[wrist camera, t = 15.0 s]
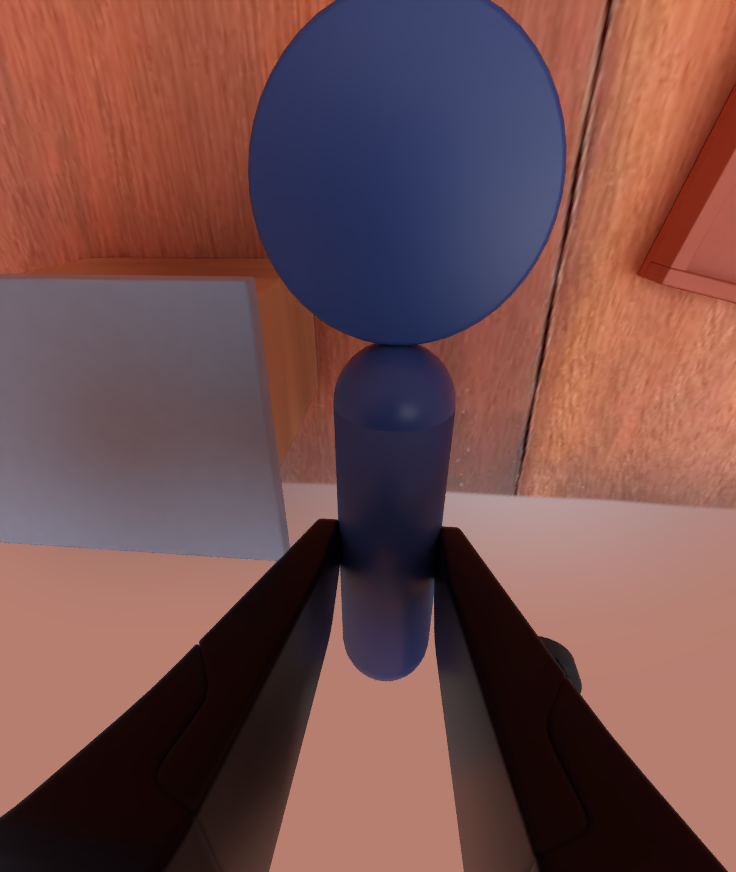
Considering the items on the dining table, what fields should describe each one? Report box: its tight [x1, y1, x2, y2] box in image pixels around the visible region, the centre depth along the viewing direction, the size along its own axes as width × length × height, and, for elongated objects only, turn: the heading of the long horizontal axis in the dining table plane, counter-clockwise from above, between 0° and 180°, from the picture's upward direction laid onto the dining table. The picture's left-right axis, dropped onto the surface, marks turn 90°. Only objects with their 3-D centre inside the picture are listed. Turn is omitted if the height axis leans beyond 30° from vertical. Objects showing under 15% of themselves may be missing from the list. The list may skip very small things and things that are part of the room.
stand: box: [19, 258, 318, 467], centre depth 16 cm, size 10×6×10 cm, turn 90°
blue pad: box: [0, 274, 290, 561], centre depth 12 cm, size 12×8×1 cm, turn 90°
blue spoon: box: [248, 0, 566, 681], centre depth 8 cm, size 12×4×2 cm, turn 0°
